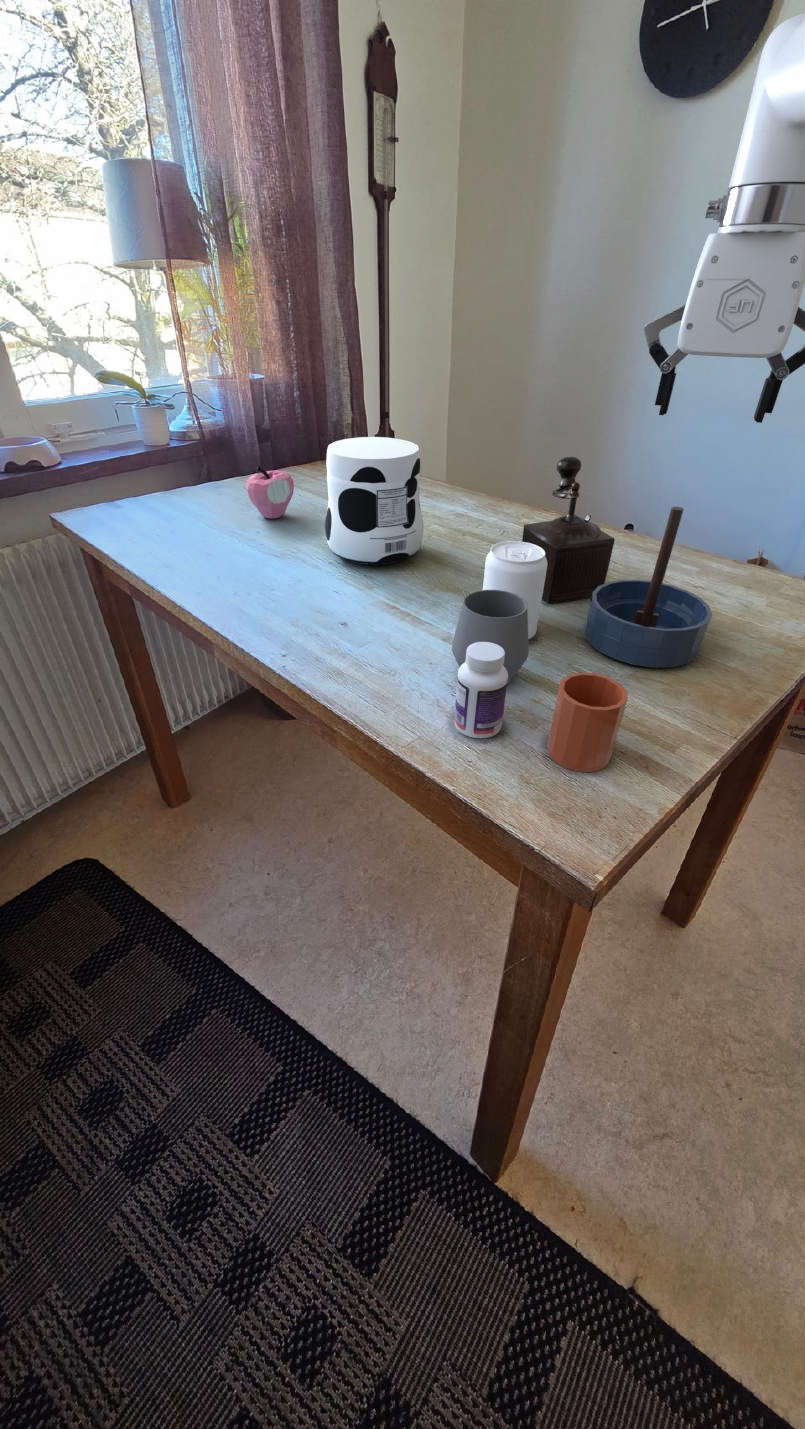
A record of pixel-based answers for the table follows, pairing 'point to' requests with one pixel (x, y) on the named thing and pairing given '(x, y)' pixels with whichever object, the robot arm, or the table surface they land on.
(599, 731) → the utensil pot
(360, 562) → the milk container
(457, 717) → the pill bottle
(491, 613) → the cup
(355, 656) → the table surface
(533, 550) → the beverage can
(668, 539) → the stirring stick
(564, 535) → the manual coffee grinder
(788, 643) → the table surface
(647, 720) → the table surface
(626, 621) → the bowl
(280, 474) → the apple
